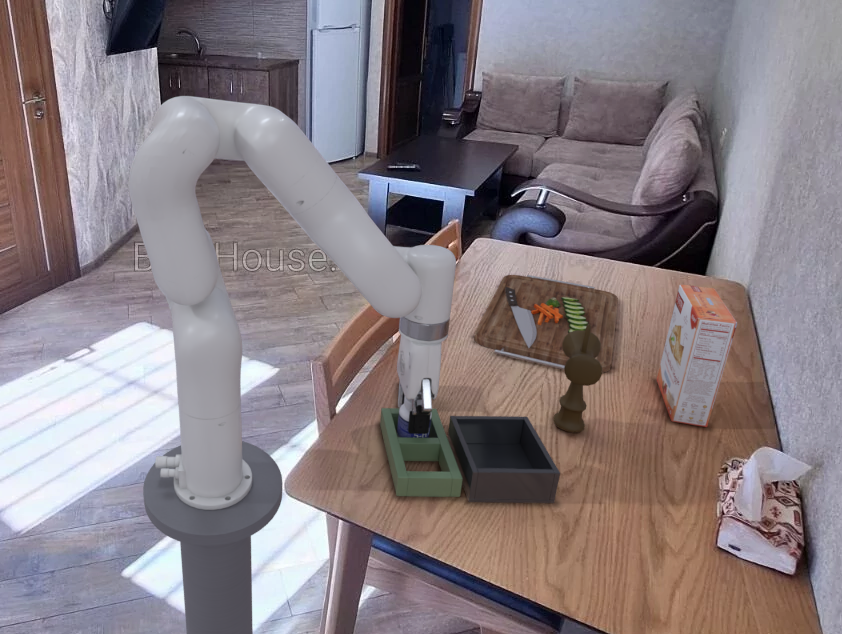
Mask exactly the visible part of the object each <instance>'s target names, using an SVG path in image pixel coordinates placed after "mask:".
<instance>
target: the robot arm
mask: <svg viewBox="0 0 842 634" xmlns="http://www.w3.org/2000/svg"><path fill="white" fill-rule="evenodd" d="M151 125H152V126H151V132H150V133H149V134H148V135H147V137H146V138H145V139H144V141H143V142H141V145H140V146H139V147H138V148H137V150H136V152H135V155H134V157H133V160H132V162H131V165H130V170H129V173H128V185H127V186H128V194H129V199H130V203H131V207H132V210H133V213H134V216H135V219H136V223H137V226H138V229H139V232H140V236H141V239H142V242H143V243H142V244H143V246H144V249H145V252H146V255H147V257H148V261H149V264H150V269H151V274H152V278H153V280H154V282H155V284H156V287H157V289H158V290H159V291H160V292H161V293H162V294H163V296H164V297H165V300H166V302H167V305H168V309H169V311H170V316H171V324H172V327H171V328H172V336H173V346H174V347H173V349H174V359H175V360H174V361H175V372H176V375H175V376H176V392H177V393H176V394H177V405H178V419H179V434H180V445H181V452H182V454H176V457H168V456H163V455H156V457H155V461H154V463H155V467H156V468H161V472H160V476H161V477H174V490H175V492H176V494H177V496H178V497H179V498H180V500H182V501H183V502H184V503H186V504H187V505H189V506H191V507H194V508H198V509H203V510H217V509H223V508H226V507H229V506H232V505H234V504H236V503H238V502H239V501H241V500H242V499H243V498H244V497H245V496H246V495H247V494H248V492H249V491H250V489H251V486H252V472H251V469H250V467H249V465H248V464H247V463H246V462H245V461H244V460H243V459H242V441H243V433H242V432H243V429H242V393H241V392H242V391H241V374H242V373H241V372H242V361H243V359H242V358H243V340H242V333H241V329H240V325H239V323H238V319H237V316H236V313H235V311H234V308H233V305H232V302H231V299H230V296H229V295H230V294H229V293H228V290H227V286H226V283H225V280H224V277H223V273H222V269H221V266H220V263H219V260H218V255H217V251H216V248H215V245H214V242H213V239H212V236H211V234H210V232H209V231H208V230H207V228H206V227H205V224H204V220H203V217H202V213H201V208H200V205H199V202H198V201H199V200H198V198H197V194H196V189H197V188H196V187H197V182H198V180H199V179H200V177H201V175H202V174H203V172H204V171H206V169H207V168H208V167H209V166H210V165H211V164H212V162H213V161H214V160H215V159H216V160H217V159H218V160H226V161H227V160H228V161H241V162H242V161H243V162H245V164H246V166H248V168H249V169H250V170H251V172H252V173H253V174H254V175H255V176H256V177H257V179H258V180H259V181H260V182H261V183H262V184H263V185H264V187H265V188H266V189H267V190H268V191H269V192H270V193H271V194H272V195H273V197H274V198H275V199H276V200H277V201H278V202H279V203H280V205H281V206H282V207H283V208H284V209H285V211H286V212H287V213H288V214H289V216H290V217H291V218H292V219H293V220H294V221H295V222H296V223H297V225H298V226H299V227H300V228H301V229H302V230H303V231H304V233H305V234H306V235H307V236H308V238H309V239H310V240H311V241H312V242H313V243H314V244H315V245H316V246H317V247H318V248H319V249H320V250H321V251H322V252H323V253H324V254H325V255H326V256H327V257H328V258H329V259H330V260H331V261H332V262H333V263H334V264H335V265H336V266H337V268H338V269H339V270H340V271H341V273H343V274H344V276H345V277H346V278H347V279H348V280H349V281H350V283H351V284H352V285H353V286H354V287H355V289H356V290H357V291H358V292H359V293H360V295H361V296H362V297H363V298H364V299H365V300H366V301H367V303H368V304H369V305H370V306H371V307H372V308H373V310H375V311H376V312H377V313H378V314H380V315H381V316H383V317H386V318H390V319H399V320H398V321H399V322H398V333H399V335H400V339H399V345H398V346H399V347H398V355H397V360H396V361H397V363H396V372H397V377H398V379H399V381H400V383H401V386H402V389H403V396H402V405H403V404H404V397H406V398H407V399H409V400H410V399H412V411H410V414H409V425H408V432H409V433H410V434H427V433H428V432H429V424H430V415H431V412H432V409H433V403H432V400H433V401H434V400H436V399H437V397H438V394H439V390H440V389H439V388H440V379H441V365H442V343H443V342H444V341H446V340H447V339H448V337H449V329H450V322H451V312H452V305H453V295H454V294H453V293H454V288H455V287H454V286H455V278H456V271H457V270H456V268H457V259H456V256H455V254H454V253H453V251H451V250H450V249H448V248H446V247H444V246H440V245H435V244H420V245H415V246H411V247H410V246H396V245H393V244H392V242H391V241H390V240H389V239H388V238H387V237H386V235H385V234H384V233H383V231H381V229H380V228H379V227H378V226H377V224H376V223H375V222H374V220H372V218H371V217H370V215H369V213H368V212H367V211H366V209H365V208H364V207H363V205H362V204H361V202H359V200H358V199H357V197H356V196H355V195H354V194H353V192H352V191H351V190H350V188H349V187H348V186H347V185H346V184H345V183H344V181H343V180H342V179H341V178H340V176H339V175H338V174H337V173H336V171H335V170H334V169H333V168H332V166H331V165H330V164H329V162H328V161H327V160H326V159H325V158H324V156H323V155H322V154H321V153H320V151H319V150H318V148H317V147H316V146H315V145H314V144H313V142H312V141H311V140H310V139H309V138H308V136H307V135H306V134H305V133H304V131H303V130H302V129H301V128H300V126H299V125H298V124H297V123H296V122H295V121H294V120H293V119H291V117H289V116H287V115H286V114H285V113H284V112H283V111H281V110H280V109H278V108H276V107H274V106H271V105H266V104H258V103H249V102H239V101H232V100H224V99H217V98H216V99H215V98H206V97H201V96H192V95H179V96H175V97H172V98H169V99H167V100H165V101H164V102H162V104H161V105H160V106H159V107H158V108H157V110H156V111H155V113H154V116H153V119H152V124H151ZM419 392H421V394H418V393H419ZM417 400H422V404H421V405H418V406H417ZM169 468H175V469H169Z"/></svg>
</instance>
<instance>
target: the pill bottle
mask: <svg viewBox="0 0 842 634" xmlns="http://www.w3.org/2000/svg"><path fill="white" fill-rule="evenodd" d="M418 394H421V392H419V393H418ZM421 404H422V400H417V406H418V405H421ZM410 411H412V399H410V400H409V399H407V398H406V397H404V404H403V405H401V407H400V409H399V416H398V427H397V430H396V433H397V437H405V438H430V435H429V433H430V425H431V417H432V413H431V415H430V424H429V432H428V433H427V434H410V433H409V432H408V425H409V414H410Z"/></svg>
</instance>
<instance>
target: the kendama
mask: <svg viewBox="0 0 842 634" xmlns="http://www.w3.org/2000/svg"><path fill="white" fill-rule="evenodd" d="M590 331H591V325H590V324H588V325H587V327H586V329H585V330H575V331H572V332H569V333H568V334H567V335H566V336H565V338H564V340H563V343H562V349H563V351H564V353H565V355H566V356H567V357H569V359H568V360H567V362H566V364H565V367H564V370H563V371H564V375H565V377H566V379H567V380H568V381H570V383H569V386H568V388H567V390H566V392H565V394H562V396H560V397H559V400H558V402H559V405H560V408H559V411H558V412H557V413H555V414H554V416H553V419H552V420H553V422H554V423H553V424H554V425H555V426H556V427H557V428H559V429H560V430H562V431H563V432H568V433H575V434H576V433H581V432H582V431H584V430H585V426H586V424H585V421H584V419H583V412H585V410H587V403H586V401H585V400H584V386H585V387H589V386H593V385H596V384H597V383H598V382H599V381H600V380H601V377H602V376H603V373H602V366H601V364H600V362H599V361H598V360H597V359H595V358H596V357H597V356H598V355H599V352H600V350H601V343H600V341H599V339H598V337H597V336H596V335H594V334H593V333H591V332H590Z"/></svg>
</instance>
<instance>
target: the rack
mask: <svg viewBox="0 0 842 634" xmlns="http://www.w3.org/2000/svg"><path fill="white" fill-rule="evenodd" d="M399 409H400V408H398V407H381V408H380V420H379V421H380V422H379V426H380V430H381V435H382V439H383V443H384V447H385V452H386V456H387V460H388V465H389V469H390V473H391V478H392V483H393V486H394V491H395V495H396V497H429V498H431V497H432V498H435V497H436V498H454V497H455V498H460V497H461V493H462V488H463V486H462V479H463V478H462V476H461V473H460V470H459V468H458V465H457V462H456V460H455V457H454V454H453V452H452V449H451V446H450V444H449V441H448V439H447V438H448V435H447V433H446V431H445V428H444V425H443V423H442V420H441V417H440V415H439V412H438V409H437V408H432V412H431V413H432V417H431V425H430V433H429V438H405V437H397V427H398V416H399ZM405 462H438V464H439V467H440V470H441V471H431V470H430V471H429V470H428V471H427V470H426V471H425V470H422V471H421V470H420V471H419V470H407V468H406V464H405Z"/></svg>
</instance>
